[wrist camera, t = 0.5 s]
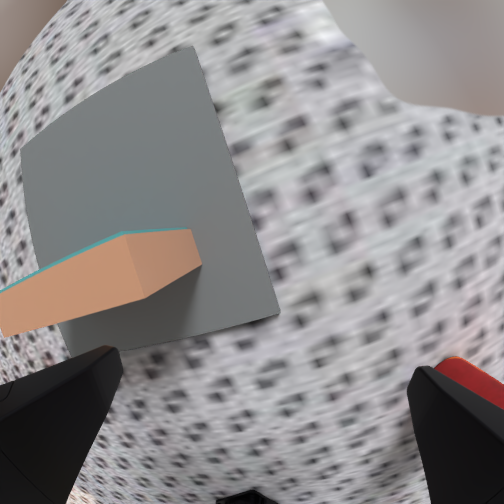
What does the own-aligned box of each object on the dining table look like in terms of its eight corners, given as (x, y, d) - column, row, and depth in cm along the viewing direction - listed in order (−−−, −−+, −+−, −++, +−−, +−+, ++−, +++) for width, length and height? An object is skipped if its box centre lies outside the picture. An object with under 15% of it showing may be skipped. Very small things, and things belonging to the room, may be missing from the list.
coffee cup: (399, 412, 22) (458, 517, 7) (434, 341, 21) (535, 427, 6) (452, 412, 21) (514, 490, 7) (484, 349, 20) (571, 411, 6)
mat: (280, 310, 22) (280, 312, 21) (75, 356, 24) (72, 359, 23) (194, 48, 20) (192, 45, 19) (23, 149, 22) (20, 149, 21)
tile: (202, 264, 21) (145, 298, 11) (79, 303, 22) (4, 337, 12) (190, 226, 21) (123, 229, 11) (69, 272, 22) (-10, 295, 12)
